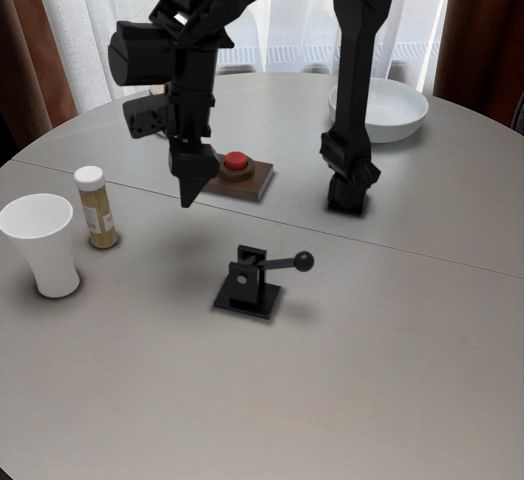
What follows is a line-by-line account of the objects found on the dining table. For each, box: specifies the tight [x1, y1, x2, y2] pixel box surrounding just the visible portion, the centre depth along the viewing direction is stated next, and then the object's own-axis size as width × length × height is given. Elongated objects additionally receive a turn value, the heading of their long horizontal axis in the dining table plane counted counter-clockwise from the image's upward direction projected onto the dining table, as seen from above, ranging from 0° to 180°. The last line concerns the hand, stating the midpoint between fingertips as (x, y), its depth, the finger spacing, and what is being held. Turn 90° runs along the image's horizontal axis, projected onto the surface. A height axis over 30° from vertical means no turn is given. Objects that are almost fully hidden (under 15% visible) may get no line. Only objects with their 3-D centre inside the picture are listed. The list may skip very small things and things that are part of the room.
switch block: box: [201, 152, 274, 203], centre depth 111 cm, size 12×10×4 cm
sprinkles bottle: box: [73, 165, 118, 249], centre depth 95 cm, size 5×5×14 cm
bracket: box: [212, 244, 282, 321], centre depth 88 cm, size 9×7×9 cm
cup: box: [0, 193, 80, 299], centre depth 88 cm, size 10×10×14 cm
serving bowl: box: [327, 76, 430, 144], centre depth 123 cm, size 21×21×7 cm
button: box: [225, 151, 247, 171], centre depth 109 cm, size 4×4×2 cm
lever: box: [236, 250, 315, 273], centre depth 84 cm, size 12×3×3 cm, turn 73°
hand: (180, 190), depth 85 cm, fingers open, 9 cm apart
